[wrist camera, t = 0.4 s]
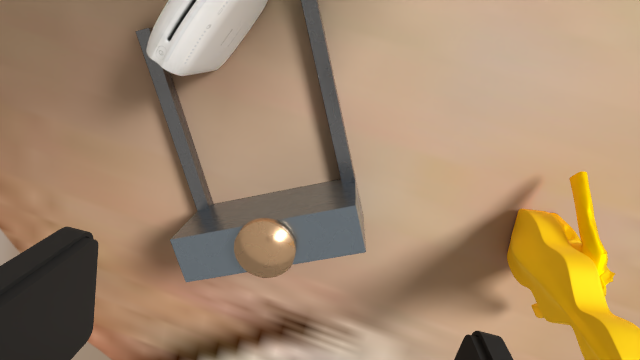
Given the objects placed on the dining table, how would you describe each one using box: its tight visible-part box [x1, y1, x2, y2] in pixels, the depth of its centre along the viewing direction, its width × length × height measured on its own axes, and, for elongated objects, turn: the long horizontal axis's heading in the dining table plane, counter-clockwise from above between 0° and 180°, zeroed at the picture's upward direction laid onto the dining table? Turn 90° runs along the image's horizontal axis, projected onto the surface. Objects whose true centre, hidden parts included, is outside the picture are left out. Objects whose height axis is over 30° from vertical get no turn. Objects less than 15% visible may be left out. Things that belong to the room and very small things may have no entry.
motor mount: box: [136, 0, 366, 282], centre depth 40 cm, size 26×19×10 cm
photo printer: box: [146, 0, 268, 76], centre depth 36 cm, size 10×4×12 cm, turn 140°
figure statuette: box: [507, 172, 640, 360], centre depth 36 cm, size 18×8×22 cm, turn 176°
